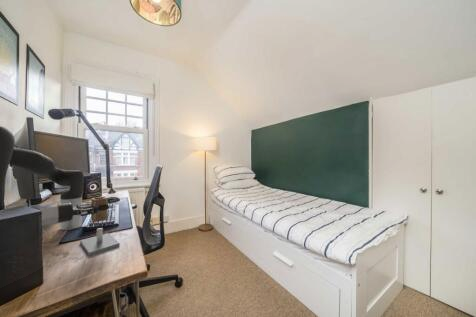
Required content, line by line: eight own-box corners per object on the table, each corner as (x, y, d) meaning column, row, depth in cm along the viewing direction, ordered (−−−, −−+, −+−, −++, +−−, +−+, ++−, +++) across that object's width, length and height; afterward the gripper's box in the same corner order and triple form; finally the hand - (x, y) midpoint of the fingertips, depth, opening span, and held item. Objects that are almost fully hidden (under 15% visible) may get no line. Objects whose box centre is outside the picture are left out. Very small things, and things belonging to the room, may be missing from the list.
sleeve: (91, 219, 84) (91, 198, 84) (104, 217, 88) (104, 196, 88) (94, 222, 81) (94, 199, 81) (107, 219, 85) (107, 198, 85)
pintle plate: (80, 243, 86) (80, 227, 86) (108, 235, 94) (108, 221, 94) (89, 256, 75) (89, 238, 75) (119, 246, 83) (119, 230, 83)
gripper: (58, 207, 69) (111, 200, 82) (53, 201, 78) (102, 195, 91) (58, 227, 69) (111, 216, 82) (53, 219, 78) (102, 210, 91)
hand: (106, 205), depth 86 cm, fingers closed on sleeve, 5 cm apart
